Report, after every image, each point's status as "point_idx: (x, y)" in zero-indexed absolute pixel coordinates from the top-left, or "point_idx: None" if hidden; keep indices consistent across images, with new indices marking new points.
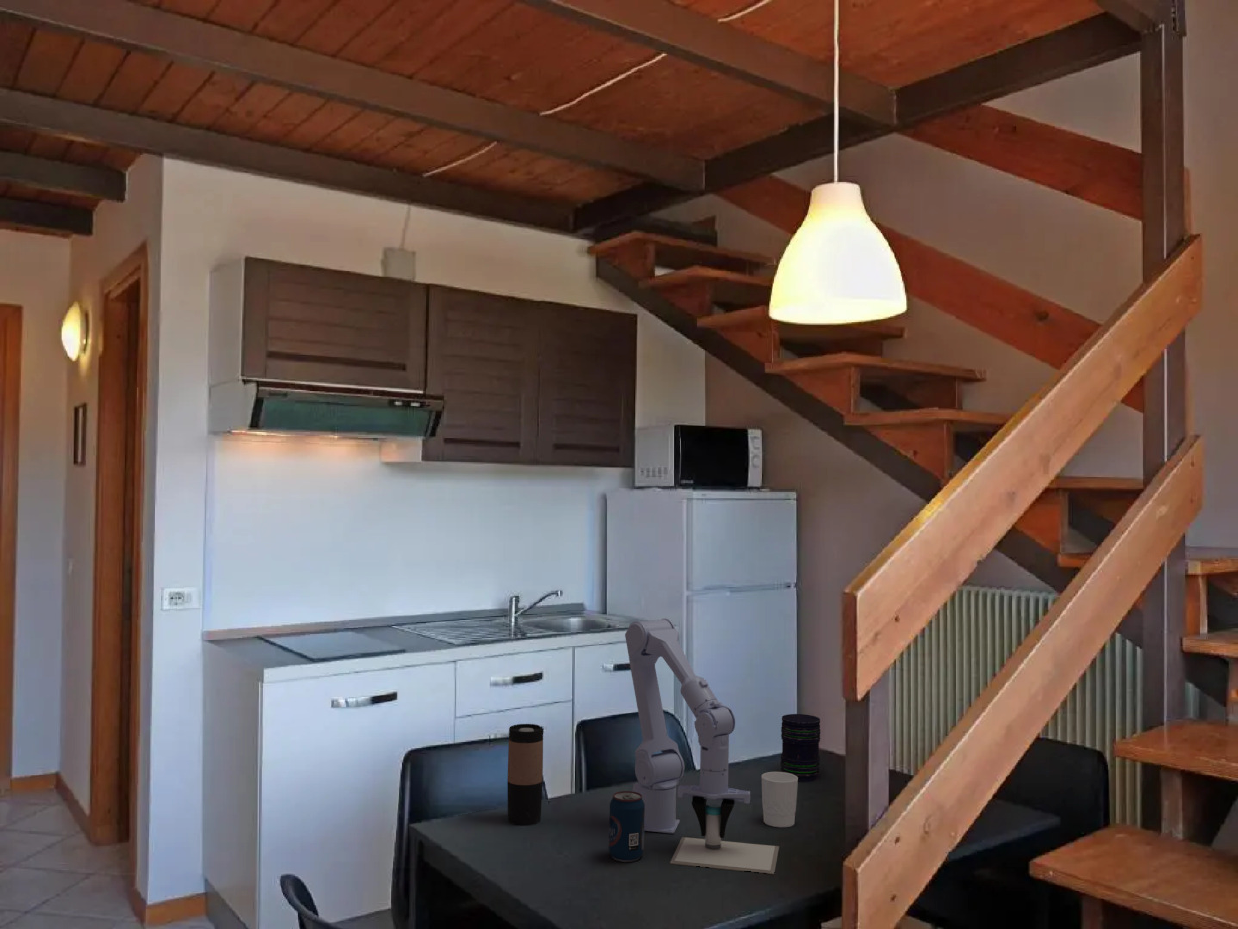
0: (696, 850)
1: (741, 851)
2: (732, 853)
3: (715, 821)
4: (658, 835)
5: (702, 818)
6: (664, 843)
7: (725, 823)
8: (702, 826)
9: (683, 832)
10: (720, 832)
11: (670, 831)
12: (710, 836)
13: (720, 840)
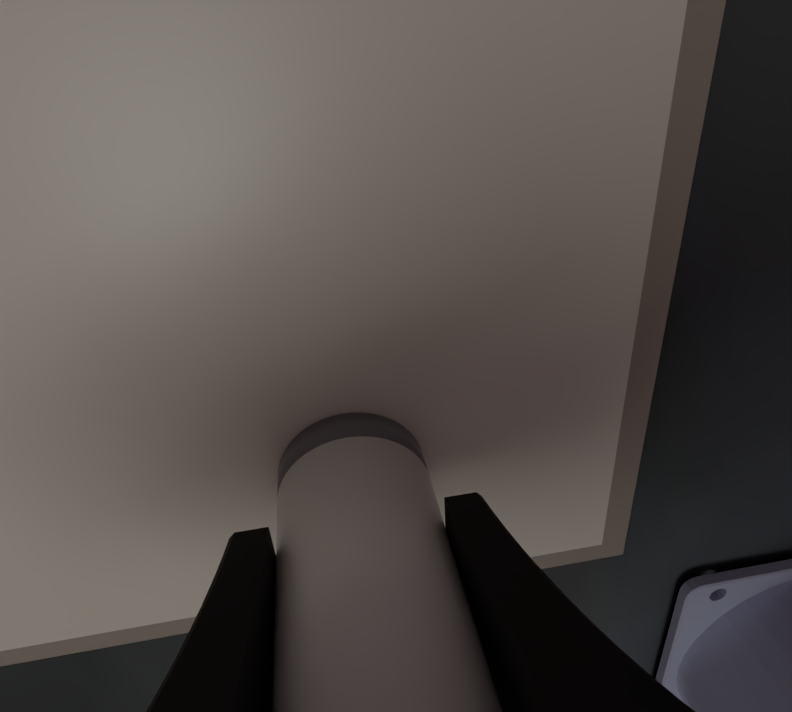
0: (483, 339)
1: (58, 479)
2: (117, 403)
3: (332, 688)
4: (782, 525)
5: (549, 669)
6: (753, 414)
7: (162, 700)
8: (505, 569)
9: (612, 626)
10: (259, 571)
11: (713, 585)
12: (377, 499)
13: (277, 523)
